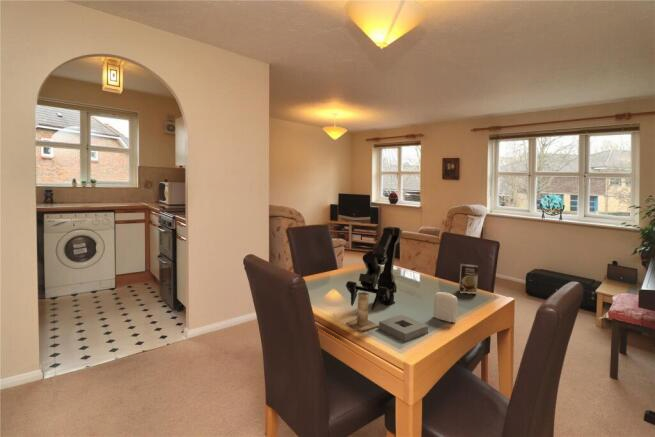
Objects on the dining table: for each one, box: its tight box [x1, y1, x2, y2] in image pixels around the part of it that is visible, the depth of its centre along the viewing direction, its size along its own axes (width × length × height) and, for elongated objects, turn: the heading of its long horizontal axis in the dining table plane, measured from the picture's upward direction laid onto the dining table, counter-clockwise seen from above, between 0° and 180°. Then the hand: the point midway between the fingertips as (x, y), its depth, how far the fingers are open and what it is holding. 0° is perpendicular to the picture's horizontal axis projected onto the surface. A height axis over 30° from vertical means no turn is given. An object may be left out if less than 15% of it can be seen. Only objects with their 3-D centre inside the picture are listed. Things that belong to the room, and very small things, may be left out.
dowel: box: [356, 291, 370, 326], centre depth 142 cm, size 4×4×13 cm
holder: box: [378, 314, 429, 342], centre depth 139 cm, size 14×14×3 cm
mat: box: [345, 318, 379, 333], centre depth 143 cm, size 10×10×1 cm
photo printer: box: [433, 291, 458, 323], centre depth 152 cm, size 10×4×12 cm, turn 47°
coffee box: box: [458, 263, 479, 293], centre depth 193 cm, size 9×6×16 cm
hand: (361, 307), depth 141 cm, fingers open, 9 cm apart
